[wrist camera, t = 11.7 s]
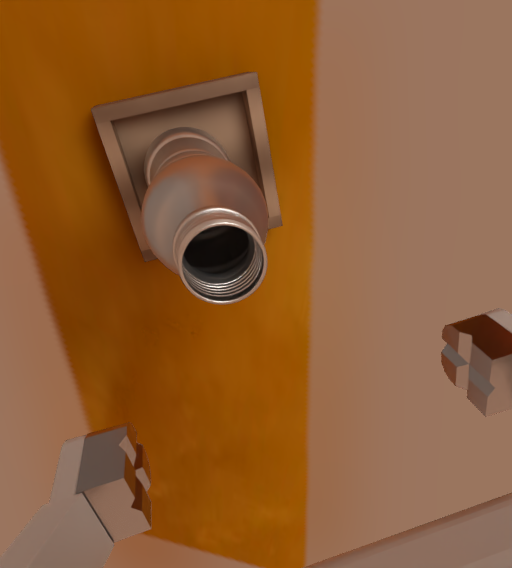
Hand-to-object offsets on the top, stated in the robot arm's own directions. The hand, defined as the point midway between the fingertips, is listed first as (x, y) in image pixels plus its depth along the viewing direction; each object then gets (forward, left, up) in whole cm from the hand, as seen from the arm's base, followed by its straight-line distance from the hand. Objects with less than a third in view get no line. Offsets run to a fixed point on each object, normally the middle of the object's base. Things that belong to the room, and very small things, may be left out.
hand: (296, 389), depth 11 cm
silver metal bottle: (0, -1, -28) cm, 28 cm away
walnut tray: (0, 0, -28) cm, 28 cm away
